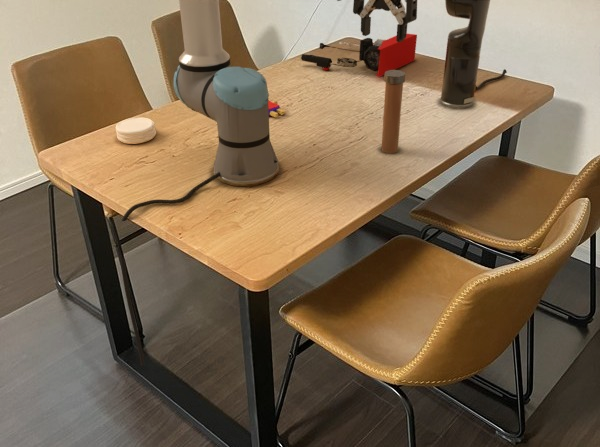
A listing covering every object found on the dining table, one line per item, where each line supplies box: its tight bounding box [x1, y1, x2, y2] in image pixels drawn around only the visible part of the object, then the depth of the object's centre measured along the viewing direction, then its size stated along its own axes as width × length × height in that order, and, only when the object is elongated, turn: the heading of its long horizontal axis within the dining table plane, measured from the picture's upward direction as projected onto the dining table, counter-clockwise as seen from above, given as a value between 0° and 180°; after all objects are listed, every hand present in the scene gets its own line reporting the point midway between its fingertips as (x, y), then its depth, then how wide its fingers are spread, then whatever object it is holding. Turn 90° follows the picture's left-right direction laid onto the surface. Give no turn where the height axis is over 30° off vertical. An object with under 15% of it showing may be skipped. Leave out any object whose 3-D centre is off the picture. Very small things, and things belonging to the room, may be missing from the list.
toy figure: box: [268, 99, 286, 118], centre depth 176 cm, size 2×7×12 cm
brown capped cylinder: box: [381, 82, 404, 154], centre depth 149 cm, size 4×4×19 cm
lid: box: [383, 69, 406, 84], centre depth 145 cm, size 5×5×2 cm
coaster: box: [114, 116, 157, 145], centre depth 162 cm, size 10×10×4 cm
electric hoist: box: [300, 33, 418, 78], centre depth 210 cm, size 10×27×30 cm
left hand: (358, 4), depth 166 cm, fingers open, 13 cm apart
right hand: (382, 38), depth 134 cm, fingers open, 8 cm apart
